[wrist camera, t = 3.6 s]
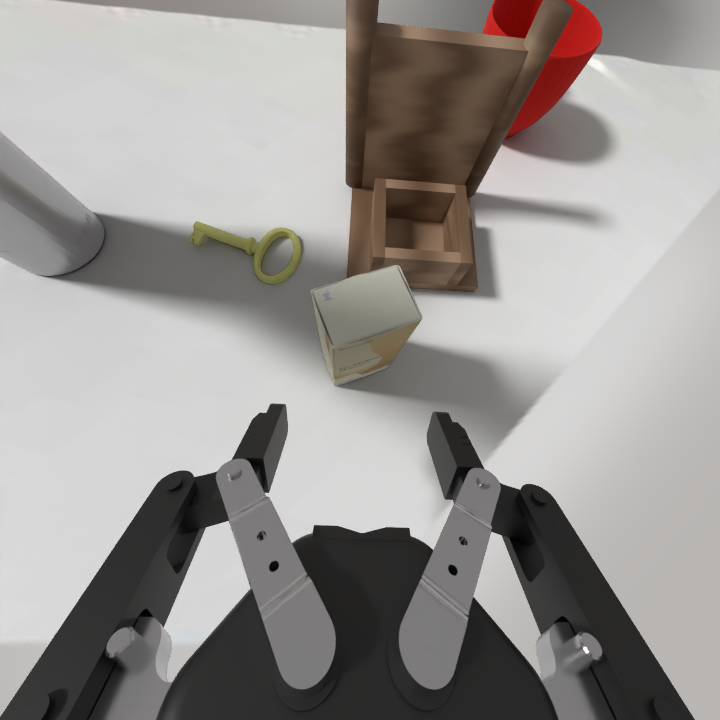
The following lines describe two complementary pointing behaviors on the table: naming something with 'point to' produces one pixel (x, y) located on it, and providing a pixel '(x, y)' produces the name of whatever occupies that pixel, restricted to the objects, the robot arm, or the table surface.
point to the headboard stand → (429, 136)
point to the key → (253, 247)
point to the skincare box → (364, 322)
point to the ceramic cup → (565, 62)
